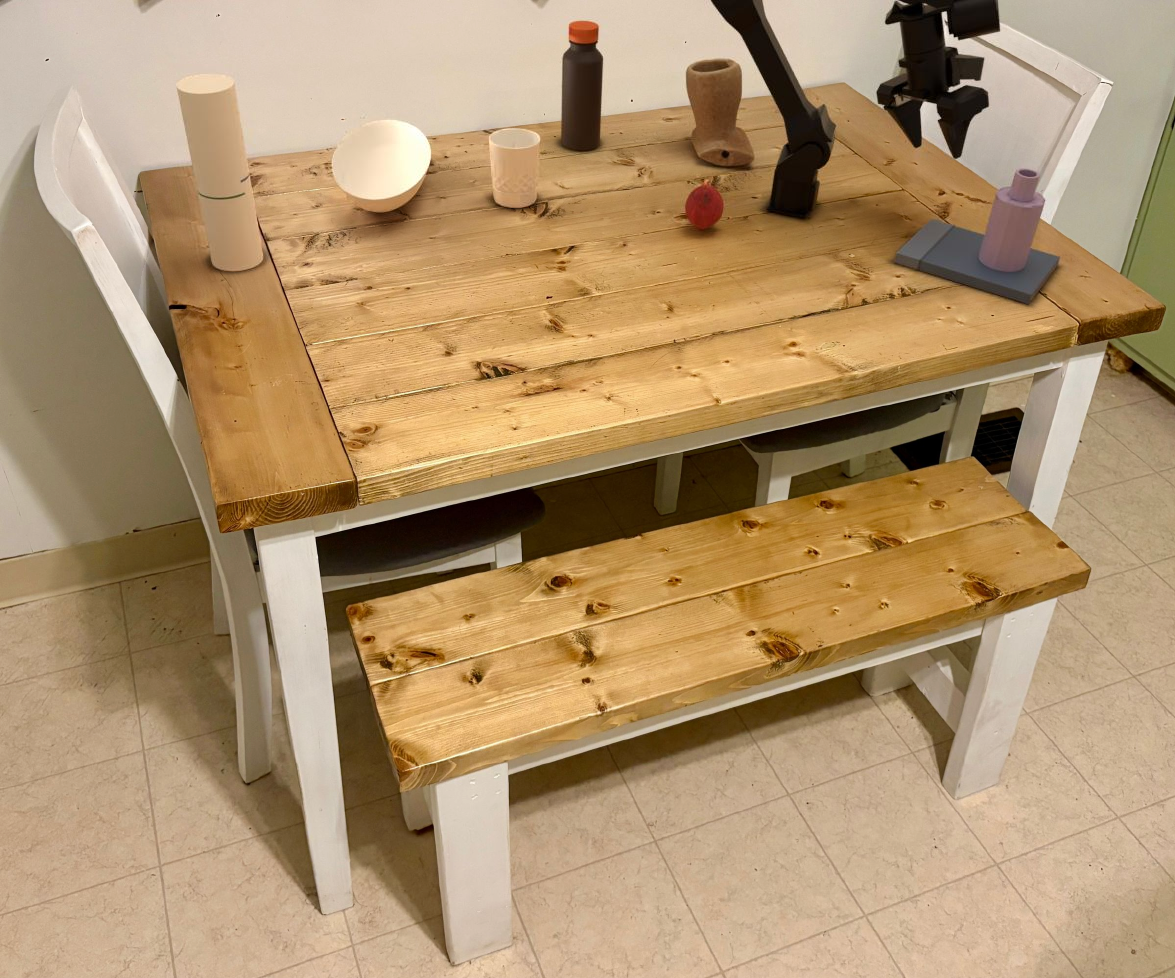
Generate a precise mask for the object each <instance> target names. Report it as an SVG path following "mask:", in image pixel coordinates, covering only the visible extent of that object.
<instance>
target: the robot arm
mask: <svg viewBox="0 0 1175 978" xmlns="http://www.w3.org/2000/svg"><path fill="white" fill-rule="evenodd" d="M710 2H711V3H712V6H713V7H714V8H715V9H716V10H717V12H718V13H719V15H720V16H721V17H722V18H723V20H724V21H725V22H726V23H727V24H728V25H730V27H732V29H734V30H735V31H736V32H737V33H738V34H739V36H740V37H741V39H742V40H743V42H744V45H745V46H746V48H747V50H748V52H749V54H750V56H751V59H752V60H753V62H754V64H755V66H756V68H757V70H758V72H759V73H760V76H761V78H762V80H763V82H764V84H765V85H766V87H767V89H768V91H769V93H770V95H771V97H772V99H773V101H774V103H775V105H776V107H777V109H778V110H779V113H780V114H781V117H782V119H783V123H784V128H785V134H786V139H787V142H786V143H784V145H783V146H782V149H781V152H780V154H779V156H778V160H777V163H776V165H775V168H774V172H773V179H772V185H771V191H770V199H769V203H768V204H767V205H766V207H765V210H766V211H768V212H773V213H776V214H781V215H786V216H790V217H796V218H799V219H806V218H807V217H808V215H809V214H810V212H812V211H813V210H814V209H815V207H816V206H817V203H818V196H819V192H820V191H819V190H820V185H821V181H820V180H818V175H819V170H820V169H823V168H824V167H825V166H827V164H828V163H829V161H830V158H831V155H832V152H833V147H834V144H835V140H836V134H835V131H836V127H837V124H836V123H835V122H834V121H832V118H830V114H829V111H828V108H827V106H826V103H823V104H821V105H820V106H819V107H816V106H815V105H814V104H812V103H811V102H810V101H809V99H808V98H807V97H806V94H805V92H804V90H803V88H802V86H801V84H800V82H799V80H798V77H797V76H796V73H795V72H794V70H793V68H792V66H791V64H790V62H789V60H788V58H787V56H786V54H785V52H784V50H783V48H782V46H781V44H780V42H779V40H778V38H777V36H776V33H775V32H774V29H773V28H772V26H771V24H770V22H769V20H768V18H767V16H766V15H767V14H766V12H765V6H764V0H710ZM900 2H902V3H900ZM903 3H904V4H903ZM999 7H1000V6H999V0H894V2H893V5H892V6H891V8H890V9H889V11H888V12H887V13H886V15H885V18H884V25H886V26H889V25H893V24H898V23H899V28H900V35H901V43H902V49H903V57H902V58H900V59H898V60H897V63H898V67H899V68H901V69H905V72H903V73H901V74H898V75H897V76H894V77H891V78H890V79H888V80H886V81H883V82H881V83H880V84H879V86H878V88H877V90H876V92H875V94H876V99H877V105H881V106H883V110H884V111H886V112H887V113H888V114H889V116H890V117H891V118H892V119H893V121H894V122H895V123H896V124H897V126H898V127H899V128H900V130H901V131H902V133H903V134H904V135H905V137H906V138H907V139H908V141H909V142H910V144H911V145H912V147H913V148H914V149H918V148H921V147H922V143H923V133H922V115H921V114H922V112H921V109H922V106H923V104H924V103H929V104H933V105H936V106H935V107H936V111H937V112H936V113H937V114H938V116H939V117H940V118H939V119H937V123H938V126H939V128H940V130H941V134H942V135H943V138H944V140H945V143H946V146H947V147H948V150H949V152H950V154H951V156H952V158H953V159H955V160H957V159H959V158H961V157H962V155H963V150H964V146H965V143H966V138H967V134H968V130H969V128H970V124H971V123H972V120H973V119H974V118H975V116H977V115H979V114H981V113H982V112H983V111H984V110H986V109H987V108H990V98H989V92H988V90H986V89H984V88H983V87H978V86H975V85H969V84H964V85H963V86H961V87H958V88H956V89H954V90H952V91H950V88H951V87H952V88H955V87H957V86H960V85H961V81H964V80H969V81H970V80H973V81H975V82H980V81H981V80H982V75H983V70H984V69H983V68H984V63H985V58H986V57H983V56H977V55H972V54H963V53H959V50H958V47H956V46H947V45H946V38H945V30H944V29H945V28H944V21H943V20H944V19H943V13H945V12H946V22H947V29H948V35H949V36H950V35H953V36H952V37H953V39H955V38H957V41H963V40H968V39H973V38H978V37H981V36H987V35H990V34H996V33H1000V32H1001V21H1000V9H999Z"/></svg>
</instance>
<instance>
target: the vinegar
mask: <svg viewBox="0 0 1175 978" xmlns="http://www.w3.org/2000/svg"><path fill="white" fill-rule="evenodd" d="M599 29H600V26H599V24H598V23H596V22H594V21H591V20H575V21H572V22H570V23H569V24H568V43H569V45H570V47H568V48H567V50H565V52H564V53H563V55H562V62H561V64H562V65H561V66H562V67H561V117H560V118H561V122H560V129H561V130H560V142H561V144H562V146H563V147H565V148H567V149H569V150H573V151H584V152H585V151H591V150H594V149H596V148H597V147H598V146H599V145H600V143H601V124H602V103H603V102H602V100H603V99H602V97H603V77H604V76H603V75H604V73H603V72H604V56H603V54H602V53H601V51H600V50H599V49H598V48H597V44H598V43H599V35H600V33H599V31H600V30H599Z"/></svg>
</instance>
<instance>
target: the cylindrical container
mask: <svg viewBox="0 0 1175 978" xmlns="http://www.w3.org/2000/svg"><path fill="white" fill-rule="evenodd" d="M175 86H176V91H177V96H178V101H179V105H180V111H181V115H182V121H183V125H184V132H185V136H186V142H187V146H188V151H189V156H190V161H191V162H190V163H191V166H192V172H193V176H194V180H195V187H196V192H197V196H198V201H199V206H200V211H201V216H202V221H203V226H204V230H205V236H206V241H207V246H208V250H209V256H210V261H211V264H212V266H213V267H214V268H216V269H218V270H221V271H226V272H240V271H241V272H242V271H246V270H250V269H253V268H255V267H257V266H259V265H260V264H261V263H262V262H263V260H264V252H263V246H262V241H261V235H260V229H259V222H258V217H257V211H256V210H257V209H256V205H255V199H254V194H253V193H254V192H253V186H252V180H251V174H250V168H249V162H248V157H247V151H246V150H247V149H246V145H245V139H244V132H243V125H242V121H241V114H240V108H239V102H238V97H237V92H236V85H235V80H234V79H233V78H232V77H230V76H228V75H225V74H219V73H200V74H194V75H190V76H186V77H183V78H181V79H180V80H178V81H177V82H176V85H175Z"/></svg>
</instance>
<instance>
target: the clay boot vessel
mask: <svg viewBox="0 0 1175 978" xmlns="http://www.w3.org/2000/svg"><path fill="white" fill-rule="evenodd" d="M685 85H686V86H685V87H686V94H687V97H688V101H689V104H690V106H691V110H692V113H693V118H694V122H695V128H693V130H692V132H691V137H690V138H691V141H692V144H693V147H694V150H695V152H696V154H697V156H698V157H699V158H700V159H702V160H704V161H706V162H709V163H712V164H714V165H717V166H720V167H737V166H743V165H747V164H750V163H752V162H754V161H755V159H756V158H755V152H754V149H753V146H752V145H751V142H750V139H749V137H748V135H747V133H746V131H745V130H744V129H743V128H742V127H739V126H737V118H738V113H739V112H738V111H739V109H740V105H741V102H742V97H743V72H742V68H741V65H740V64H739V63H738V62H736V61H735V60H733V59H730V58H712V59H702V60H699V61H698V60H697V61H694V62H692V63H691V64H689V65H688V66H687V68H686V70H685Z"/></svg>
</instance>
